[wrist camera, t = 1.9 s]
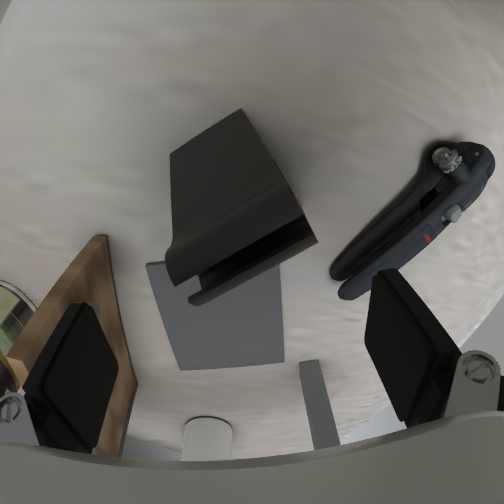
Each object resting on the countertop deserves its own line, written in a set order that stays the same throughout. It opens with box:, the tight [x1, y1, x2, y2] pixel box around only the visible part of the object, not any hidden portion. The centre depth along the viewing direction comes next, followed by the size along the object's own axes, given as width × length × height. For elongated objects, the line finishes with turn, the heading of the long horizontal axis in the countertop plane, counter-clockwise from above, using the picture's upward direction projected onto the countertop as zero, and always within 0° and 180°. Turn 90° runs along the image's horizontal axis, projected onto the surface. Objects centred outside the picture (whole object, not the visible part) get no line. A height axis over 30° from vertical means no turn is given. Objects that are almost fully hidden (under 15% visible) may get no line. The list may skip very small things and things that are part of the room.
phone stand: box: [165, 109, 318, 306], centre depth 18 cm, size 9×6×12 cm, turn 31°
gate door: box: [6, 236, 138, 458], centre depth 22 cm, size 19×3×14 cm, turn 176°
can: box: [181, 417, 233, 461], centre depth 33 cm, size 6×6×12 cm
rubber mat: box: [146, 261, 284, 370], centre depth 29 cm, size 11×13×1 cm
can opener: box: [330, 141, 495, 300], centre depth 23 cm, size 18×7×6 cm, turn 136°
